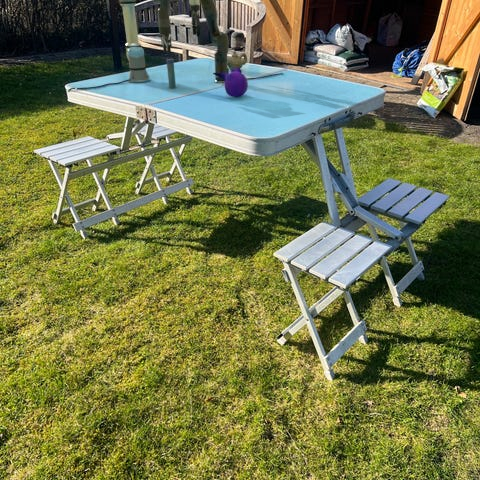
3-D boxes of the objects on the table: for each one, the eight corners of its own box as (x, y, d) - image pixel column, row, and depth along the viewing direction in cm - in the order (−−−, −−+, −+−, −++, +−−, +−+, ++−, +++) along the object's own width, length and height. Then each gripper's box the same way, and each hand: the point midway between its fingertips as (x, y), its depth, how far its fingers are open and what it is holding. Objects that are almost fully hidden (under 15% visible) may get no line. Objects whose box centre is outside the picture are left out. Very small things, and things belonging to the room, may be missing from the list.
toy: (234, 89, 306) (247, 103, 285) (210, 85, 299) (222, 98, 278) (240, 65, 298) (254, 78, 277) (215, 60, 291) (228, 72, 270)
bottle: (168, 88, 315) (165, 60, 306) (169, 86, 319) (167, 59, 310) (175, 88, 315) (172, 60, 306) (176, 86, 319) (174, 59, 310)
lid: (165, 63, 307) (165, 60, 306) (167, 62, 311) (167, 59, 310) (173, 63, 306) (172, 60, 305) (174, 61, 311) (174, 58, 310)
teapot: (227, 73, 361) (227, 53, 353) (221, 70, 369) (220, 51, 362) (250, 70, 370) (250, 50, 362) (243, 68, 378) (242, 49, 371)
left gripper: (203, 5, 329) (204, 36, 339) (195, 3, 349) (197, 33, 360) (193, 5, 327) (195, 37, 338) (186, 4, 347) (188, 34, 358)
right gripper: (173, 26, 284) (176, 53, 293) (166, 24, 296) (169, 51, 304) (162, 27, 282) (165, 54, 290) (155, 25, 293) (158, 52, 301)
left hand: (196, 35), depth 349 cm, fingers open, 13 cm apart
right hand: (167, 53), depth 297 cm, fingers open, 8 cm apart
